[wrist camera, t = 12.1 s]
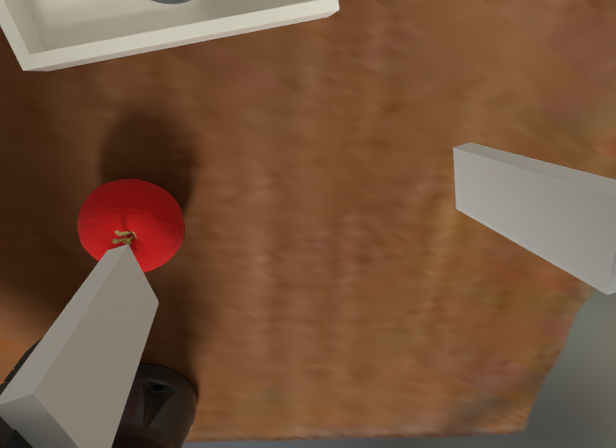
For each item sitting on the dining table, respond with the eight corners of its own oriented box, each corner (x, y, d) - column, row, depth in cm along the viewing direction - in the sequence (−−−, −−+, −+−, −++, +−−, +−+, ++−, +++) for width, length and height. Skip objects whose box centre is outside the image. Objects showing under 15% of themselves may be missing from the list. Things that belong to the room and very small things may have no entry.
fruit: (206, 201, 38) (196, 240, 29) (162, 260, 40) (140, 315, 31) (125, 150, 34) (85, 177, 25) (81, 218, 36) (29, 266, 27)
